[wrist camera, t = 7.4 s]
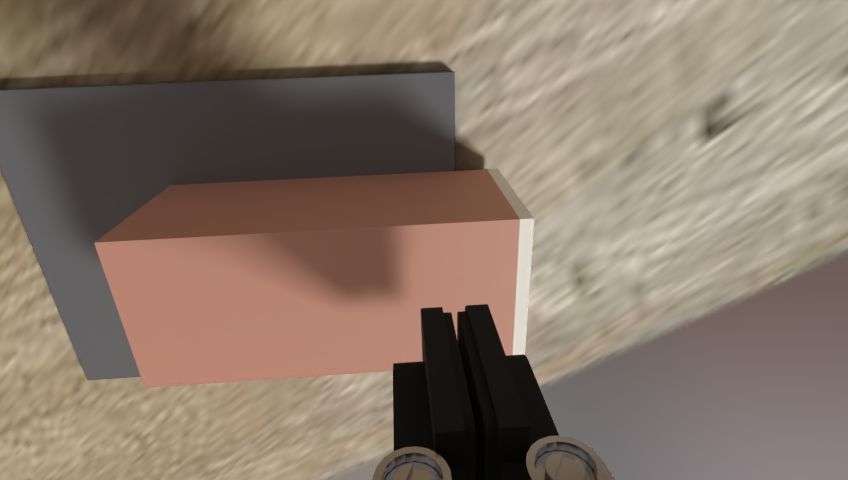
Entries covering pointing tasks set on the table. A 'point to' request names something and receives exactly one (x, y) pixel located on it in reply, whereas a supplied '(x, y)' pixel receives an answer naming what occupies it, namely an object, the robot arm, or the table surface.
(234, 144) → the mat
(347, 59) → the table surface
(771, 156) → the table surface
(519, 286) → the salmon pink block
